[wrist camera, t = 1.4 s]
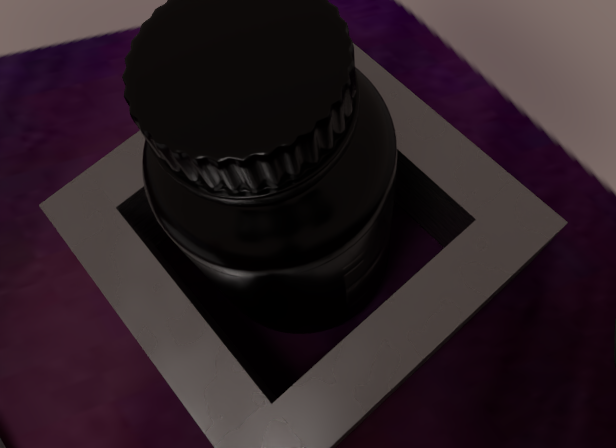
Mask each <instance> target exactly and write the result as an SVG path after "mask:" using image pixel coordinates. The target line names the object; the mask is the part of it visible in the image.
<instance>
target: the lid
mask: <svg viewBox="0 0 616 448" xmlns="http://www.w3.org/2000/svg"><path fill="white" fill-rule="evenodd" d="M0 448H6V447H5V445H4V444H3V442H2V440H1V438H0Z"/></svg>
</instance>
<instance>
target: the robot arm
mask: <svg viewBox="0 0 616 448" xmlns="http://www.w3.org/2000/svg"><path fill="white" fill-rule="evenodd" d="M614 362H615V367H616V319H615V343H614Z"/></svg>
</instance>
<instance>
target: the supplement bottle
mask: <svg viewBox="0 0 616 448" xmlns="http://www.w3.org/2000/svg"><path fill="white" fill-rule="evenodd" d="M125 64H126V69H125V71H124V74H123V76H122V78H123V81H124V83H125V85H126V87H125V91H124V98H125V100H126V102H127V103H128V105H129V106H130V115H131V117H132V119H133V121H134V122H135V124H136V125H137V126H138V128H139V129H140V131H141V132H142V134H143V136H144V137H145V143H144V149H143V158H142V174H143V183H144V188H145V192H146V196H147V199H148V202H149V205H150V207H151V210H152V212H153V214H154V215H155V217H156V219H157V221H158V222H159V224H160V225H161V227H162V228H163V229H164V231H165V232H166V234H167V235H168V236H169V237H170V239H171V240H172V241H173V242H174V243H175V244H176V245H177V246H178V247H179V249H180V250H181V251H182V252H183V253H184V254H185V255H186V256H187V257H188V258H189V259H190V260H191V261H192V262H193V263H194V264H195V265H196V266H197V267H198V268H199V269H200V270H201V271H202V272H203V273H204V274H205V275H206V276H207V277H208V278H209V280H210V281H211V282H212V283H213V284H214V285H215V286H216V287H217V288H218V289H219V290H220V291H221V292H222V293H223V294H224V295H225V296H226V297H227V298H228V299H229V300H230V301H231V302H232V303H233V304H234V305H235V306H236V307H237V308H238V309H239V310H240V311H242V312H243V313H244V314H245V315H246V316H248V317H249V318H250V319H252V320H254V321H255V322H257V323H259V324H261V325H263V326H265V327H267V328H270V329H273V330H276V331H280V332H285V333H293V334H305V333H314V332H320V331H323V330H327V329H330V328H332V327H335V326H337V325H339V324H341V323H343V322H345V321H347V320H348V319H350V318H351V317H353V316H354V315H355V314H356V313H358V312H359V311H360V310H361V309H362V308H363V307H364V306H365V305H366V304H367V303H368V302H369V300H370V299H371V298H372V296H373V295H374V294H375V292H376V290H377V289H378V287H379V285H380V283H381V280H382V278H383V276H384V273H385V269H386V266H387V260H388V254H389V246H390V236H391V225H392V214H393V204H394V193H395V183H396V171H397V140H396V133H395V128H394V124H393V120H392V117H391V115H390V112H389V110H388V107H387V105H386V103H385V101H384V100H383V98H382V96H381V95H380V93H379V92H378V90H377V89H376V87H375V86H374V85H373V84H372V83H371V81H370V80H369V79H368V78H367V77H366V76H365V75H364V74H363V73H362V72H361V71H360V70H359V69H357V68H356V67H355V58H354V45H353V42H352V40H351V38H350V37H349V29H348V25H347V23H346V22H345V21H344V20H343V19H342V18H341V17H340V15H339V11H338V8H337V7H336V6H334V5H333V4H331V3H329V2H328V0H168V1H167V2H166V3H165V4H164V5H162V6H160V7H158V8H157V9H155V11H154V12H153V14H152V16H151V18H149V19H148V20H147V21H145V22H144V23H143V24H142V25H141V28H140V32H139V34H138V35H137V36H136V37H135V38H134V39H133V40H132V42H131V50H130V52H129V53H128V54H127V56H126V58H125Z"/></svg>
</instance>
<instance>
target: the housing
mask: <svg viewBox="0 0 616 448" xmlns="http://www.w3.org/2000/svg"><path fill="white" fill-rule="evenodd" d="M353 45H354V58H355V67H356V68H357V69H359V70H360V71H361V72H362V73H363V74H364V75H365V76H366V77H367V78H368V79H369V80H370V81H371V83H372V84H373V85H374V86H375V87H376V89H377V90H378V92H379V93H380V95H381V96H382V98H383V100H384V101H385V103H386V105H387V107H388V110H389V112H390V115H391V117H392V120H393V124H394V128H395V133H396V140H397V171H396V183H395V193H394V201H395V202H396V203H397V204H398V205H400V206H401V207H402V208H403V209H404V210H405V211H406V212H407V213H408V214H409V215H410V216H411V217H412V218H413V219H414V220H415V221H416V222H418V223H419V224H420V225H421V226H422V227H423V228H424V229H425V230H426V231H427V232H428V233H429V234H430V235H431V236H432V237H433V238H434V239H436V240H437V241H438V242H439V243H440V244H441V245H442V246H443V247H444V249H443V250H442V251H441V252H440V253H439V254H437V255H436V256H435V257H434V258H433V259H432V260H431V261H430V262H429V263H427V264H426V265H425V266H424V267H423V268H422V269H421V270H420V271H419V272H417V273H416V274H415V275H414V276H413V277H412V278H411V279H410V280H409V281H407V282H406V283H405V284H404V285H403V286H402V287H401V288H400V289H399V290H397V291H396V292H395V293H394V294H393V295H392V296H391V297H390V298H389V299H388V300H386V301H385V302H384V303H383V304H382V305H381V306H380V307H379V308H378V309H376V310H375V311H374V312H373V313H372V314H371V315H370V316H369V317H368V318H366V319H365V320H364V321H363V322H362V323H361V324H360V325H359V326H358V327H356V328H355V329H354V330H353V331H352V332H351V333H350V334H349V335H348V336H346V337H345V338H344V339H343V340H342V341H341V342H340V343H339V344H338V345H337V346H335V347H334V348H333V349H332V350H331V351H330V352H329V353H328V354H327V355H325V356H324V357H323V358H322V359H321V360H320V361H319V362H318V363H317V364H315V365H314V366H313V367H312V368H311V369H310V370H309V371H308V372H307V373H305V374H304V375H303V376H302V377H301V378H300V379H299V380H298V381H297V382H295V383H294V384H293V385H292V386H291V387H290V388H289V389H288V390H287V391H286V392H284V393H283V394H282V395H281V396H280V397H279V398H277V397H276V396H275V395H274V393H273V392H272V391H271V390H270V388H269V387H268V386H267V385H266V384H265V382H264V381H263V380H262V379H261V377H260V376H259V375H258V374H257V372H256V371H255V370H254V369H253V367H252V366H251V365H250V364H249V362H248V361H247V360H246V359H245V357H244V356H243V355H242V354H241V352H240V351H239V350H238V349H237V347H236V346H235V345H234V344H233V342H232V341H231V340H230V339H229V337H228V336H227V335H226V334H225V332H224V331H223V330H222V329H221V327H220V326H219V325H218V324H217V322H216V321H215V320H214V319H213V317H212V316H211V315H210V314H209V312H208V311H207V310H206V309H205V307H204V306H203V305H202V304H201V302H200V301H199V300H198V299H197V297H196V296H195V295H194V294H193V292H192V291H191V290H190V289H189V287H188V286H187V285H186V284H185V282H184V281H183V280H182V279H181V277H180V276H179V275H178V274H177V273H176V271H175V270H174V269H173V268H172V266H171V265H170V264H169V263H168V261H167V260H166V259H165V258H164V256H163V255H162V254H161V253H160V251H159V250H158V249H157V248H156V246H157V245H158V244H159V243H161V242H162V241H163V240H164V239H166V238H167V237H168V235H167V234H166V232H165V231H164V229H163V228H162V227H161V225H160V224H159V222H158V221H157V219H156V217H155V215H154V214H153V212H152V210H151V207H150V205H149V202H148V199H147V196H146V192H145V188H144V183H143V174H142V158H143V149H144V143H145V137H144V136H143V134H142V132H141V131H139V132H137V133H136V134H134V135H133V136H132V137H130V138H129V139H128V140H126V141H125V142H124V143H122V144H121V145H120V146H118V147H117V148H115V149H114V150H113V151H111V152H110V153H109V154H107V155H106V156H105V157H103V158H102V159H101V160H99V161H98V162H97V163H95V164H94V165H92V166H91V167H90V168H88V169H87V170H86V171H84V172H83V173H82V174H80V175H79V176H78V177H76V178H75V179H74V180H72V181H71V182H69V183H68V184H67V185H65V186H64V187H63V188H61V189H60V190H59V191H57V192H56V193H55V194H53V195H52V196H51V197H49V198H48V199H46V200H45V201H44V202H42V203H41V204H40V205H39V206H40V207H41V209H42V210H43V211H44V213H45V214H46V216H47V217H48V218H49V220H50V221H51V222H52V224H53V225H54V227H55V228H56V229H57V231H58V232H59V233H60V235H61V236H62V238H63V239H64V240H65V242H66V243H67V245H68V246H69V247H70V249H71V250H72V251H73V253H74V254H75V256H76V257H77V258H78V260H79V261H80V262H81V264H82V265H83V267H84V268H85V269H86V271H87V272H88V274H89V275H90V276H91V278H92V279H93V280H94V282H95V283H96V285H97V286H98V287H99V289H100V290H101V291H102V293H103V294H104V296H105V297H106V298H107V300H108V301H109V303H110V304H111V305H112V307H113V308H114V309H115V311H116V312H117V314H118V315H119V316H120V318H121V319H122V320H123V322H124V323H125V325H126V326H127V327H128V329H129V330H130V332H131V333H132V334H133V336H134V337H135V338H136V340H137V341H138V343H139V344H140V345H141V347H142V348H143V349H144V351H145V352H146V354H147V355H148V356H149V358H150V359H151V361H152V362H153V363H154V365H155V366H156V367H157V369H158V370H159V372H160V373H161V374H162V376H163V377H164V378H165V380H166V381H167V383H168V384H169V385H170V387H171V388H172V390H173V391H174V392H175V394H176V395H177V396H178V398H179V399H180V401H181V402H182V403H183V405H184V406H185V407H186V409H187V410H188V412H189V413H190V414H191V416H192V417H193V419H194V420H195V421H196V423H197V424H198V425H199V427H200V428H201V430H202V431H203V432H204V434H205V435H206V436H207V438H208V439H209V441H210V442H211V443H212V445H213V446H214V448H335V447H336V446H337V445H338V444H339V443H341V442H342V441H343V440H344V439H345V438H346V437H347V436H348V435H349V434H350V433H351V432H352V431H353V430H354V429H355V428H356V427H357V426H358V425H360V424H361V423H362V422H363V421H364V420H365V419H366V418H367V417H368V416H369V415H370V414H371V413H372V412H373V411H374V410H375V409H376V408H377V407H379V406H380V405H381V404H382V403H383V402H384V401H385V400H386V399H387V398H388V397H389V396H390V395H391V394H392V393H393V392H394V391H395V390H396V389H398V388H399V387H400V386H401V385H402V384H403V383H404V382H405V381H406V380H407V379H408V378H409V377H410V376H411V375H412V374H413V373H414V372H415V371H417V370H418V369H419V368H420V367H421V366H422V365H423V364H424V363H425V362H426V361H427V360H428V359H429V358H430V357H431V356H432V355H433V354H434V353H436V352H437V351H438V350H439V349H440V348H441V347H442V346H443V345H444V344H445V343H446V342H447V341H448V340H449V339H450V338H451V337H452V336H453V335H454V334H456V333H457V332H458V331H459V330H460V329H461V328H462V327H463V326H464V325H465V324H466V323H467V322H468V321H469V320H470V319H471V318H472V317H473V316H475V315H476V314H477V313H478V312H479V311H480V310H481V309H482V308H483V307H484V306H485V305H486V304H487V303H488V302H489V301H490V300H491V299H492V298H494V297H495V296H496V295H497V294H498V293H499V292H500V291H501V290H502V289H503V288H504V287H505V286H506V285H507V284H508V283H509V282H510V281H511V280H513V279H514V278H515V277H516V276H517V275H518V274H519V273H520V272H521V271H522V270H523V269H524V268H525V267H526V266H527V265H528V264H529V263H530V262H531V261H532V260H533V259H534V258H535V257H536V256H537V255H538V254H539V253H540V252H541V251H542V250H543V249H544V248H545V247H546V245H547V244H548V243H549V242H550V241H551V240H552V239H553V238H554V237H555V236H556V235H557V234H558V233H559V232H560V231H561V229H562V228H563V227H564V226H565V225H566V224H567V223H568V222H567V221H565V220H564V219H563V218H562V217H561V216H559V215H558V214H557V213H556V212H555V211H553V210H552V209H551V208H550V207H549V206H547V205H546V204H545V203H544V202H543V201H541V200H540V199H539V198H538V197H537V196H535V195H534V194H533V193H532V192H531V191H529V190H528V189H527V188H526V187H525V186H523V185H522V184H521V183H520V182H519V181H518V180H516V179H515V178H514V177H513V176H512V175H510V174H509V173H508V172H507V171H506V170H504V169H503V168H502V167H501V166H500V165H498V164H497V163H496V162H495V161H494V160H492V159H491V158H490V157H489V156H488V155H486V154H485V153H484V152H483V151H482V150H480V149H479V148H478V147H477V146H476V145H474V144H473V143H472V142H471V141H470V140H468V139H467V138H466V137H465V136H464V135H463V134H461V133H460V132H459V131H458V130H457V129H455V128H454V127H453V126H452V125H451V124H449V123H448V122H447V121H446V120H445V119H443V118H442V117H441V116H440V115H439V114H437V113H436V112H435V111H434V110H433V109H431V108H430V107H429V106H428V105H427V104H425V103H424V102H423V101H422V100H421V99H419V98H418V97H417V96H416V95H415V94H413V93H412V92H411V91H410V90H409V89H408V88H406V87H405V86H404V85H403V84H402V83H400V82H399V81H398V80H397V79H396V78H394V77H393V76H392V75H391V74H390V73H388V72H387V71H386V70H385V69H384V68H382V67H381V66H380V65H379V64H378V63H376V62H375V61H374V60H373V59H372V58H370V57H369V56H368V55H367V54H366V53H364V52H363V51H362V50H361V49H360V48H358V47H357V46H356V45H355V44H354V43H353Z"/></svg>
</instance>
